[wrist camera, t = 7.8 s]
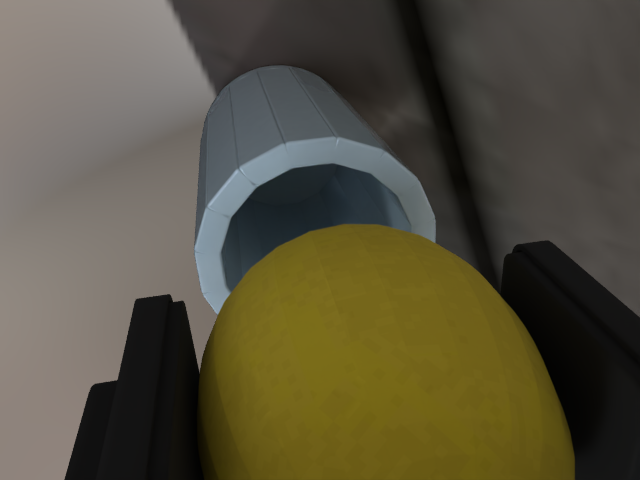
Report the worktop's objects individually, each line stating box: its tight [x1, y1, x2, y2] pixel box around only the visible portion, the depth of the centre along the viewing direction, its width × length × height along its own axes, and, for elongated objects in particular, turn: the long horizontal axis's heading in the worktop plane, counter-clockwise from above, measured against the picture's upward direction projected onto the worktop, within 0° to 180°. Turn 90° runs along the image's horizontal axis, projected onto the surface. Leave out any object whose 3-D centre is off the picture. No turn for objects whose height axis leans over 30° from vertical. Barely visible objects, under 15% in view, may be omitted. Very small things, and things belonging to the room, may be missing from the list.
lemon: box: [197, 224, 575, 480], centre depth 9 cm, size 6×6×8 cm
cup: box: [194, 65, 436, 315], centre depth 17 cm, size 6×6×9 cm
